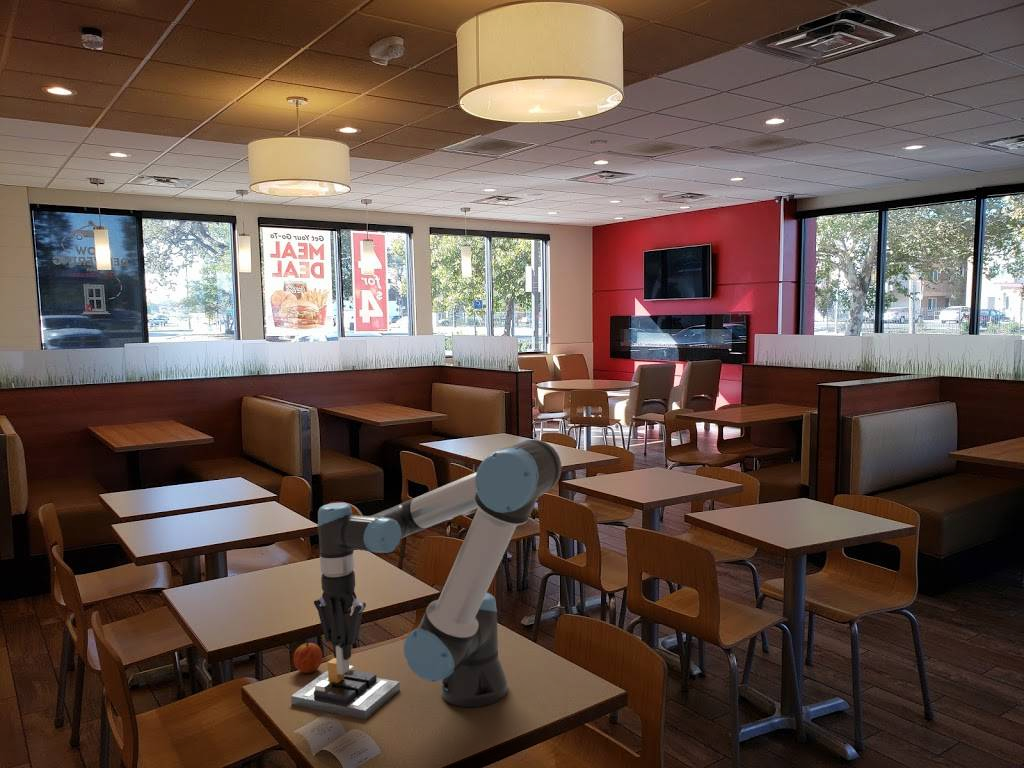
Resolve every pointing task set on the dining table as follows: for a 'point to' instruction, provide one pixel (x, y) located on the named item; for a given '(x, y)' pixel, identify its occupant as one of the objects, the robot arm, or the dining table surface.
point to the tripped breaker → (334, 672)
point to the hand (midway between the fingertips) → (343, 671)
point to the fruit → (307, 657)
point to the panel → (347, 707)
